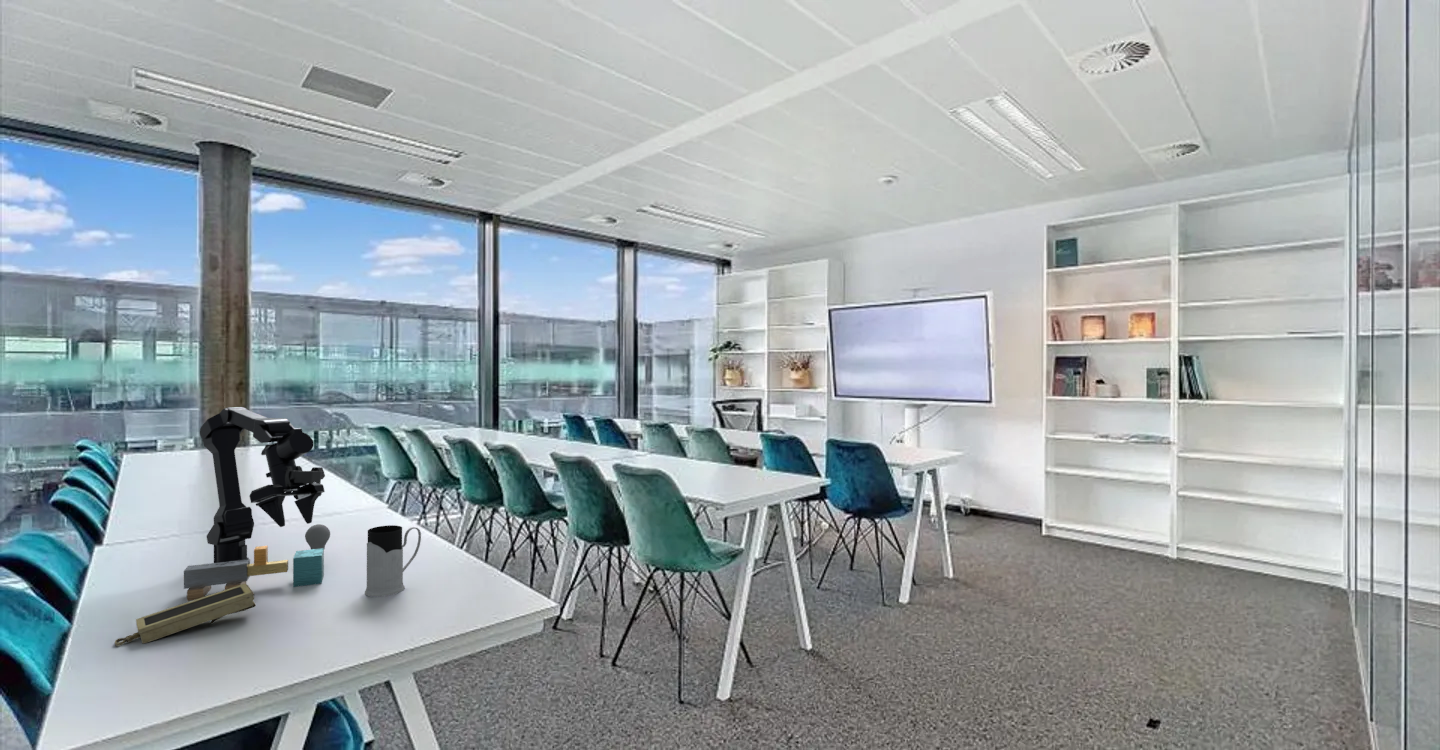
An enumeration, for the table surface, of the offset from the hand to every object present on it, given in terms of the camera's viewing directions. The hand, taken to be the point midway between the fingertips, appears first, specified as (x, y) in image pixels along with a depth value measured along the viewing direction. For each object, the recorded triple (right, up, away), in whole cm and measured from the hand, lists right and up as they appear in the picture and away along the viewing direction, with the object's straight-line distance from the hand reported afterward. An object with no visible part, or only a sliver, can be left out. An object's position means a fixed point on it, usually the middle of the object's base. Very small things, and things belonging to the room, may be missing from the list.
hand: (296, 524), depth 164 cm
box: (-3, -15, -29) cm, 33 cm away
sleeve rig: (-7, -14, -4) cm, 16 cm away
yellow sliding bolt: (-10, -11, -6) cm, 16 cm away
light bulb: (-6, -14, +18) cm, 24 cm away
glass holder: (+26, -15, -3) cm, 30 cm away
